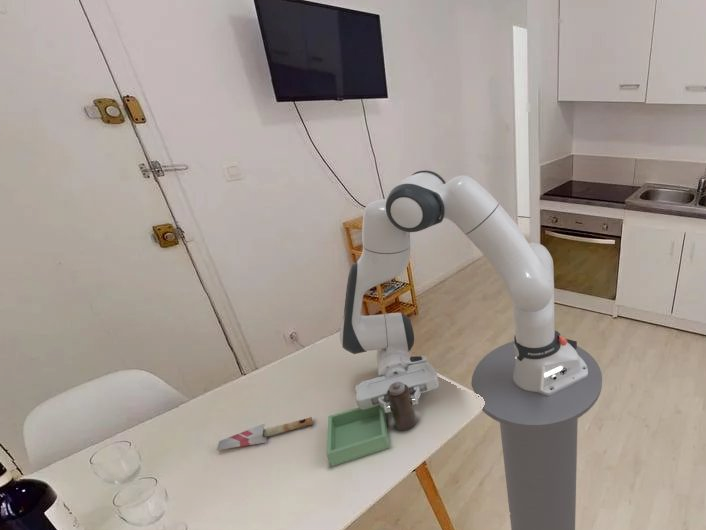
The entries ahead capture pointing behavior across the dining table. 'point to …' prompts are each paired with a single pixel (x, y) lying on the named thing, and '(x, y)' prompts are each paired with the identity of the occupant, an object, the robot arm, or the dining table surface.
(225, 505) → the dining table surface
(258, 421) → the dining table surface
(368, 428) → the tray
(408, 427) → the pepper mill
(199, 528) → the dining table surface
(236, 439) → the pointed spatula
